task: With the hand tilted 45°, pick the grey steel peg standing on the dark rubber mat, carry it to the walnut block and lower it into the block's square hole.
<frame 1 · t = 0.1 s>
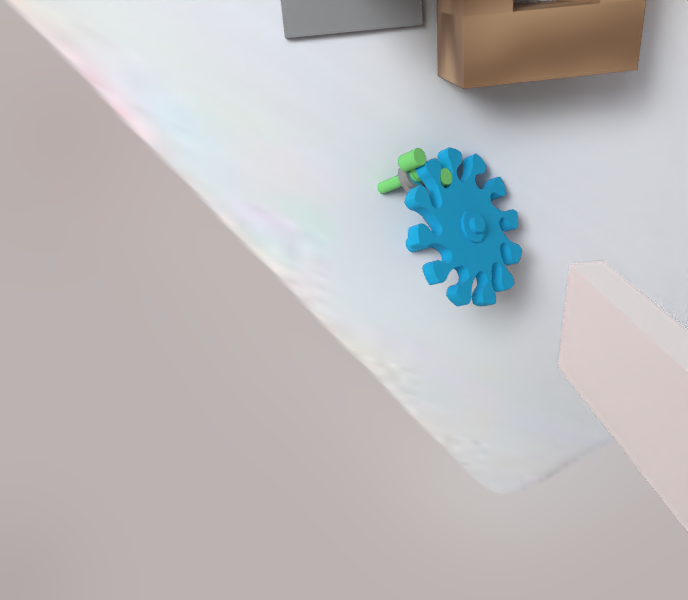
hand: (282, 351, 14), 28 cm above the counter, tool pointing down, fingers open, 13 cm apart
gear: (442, 202, 44), on the counter
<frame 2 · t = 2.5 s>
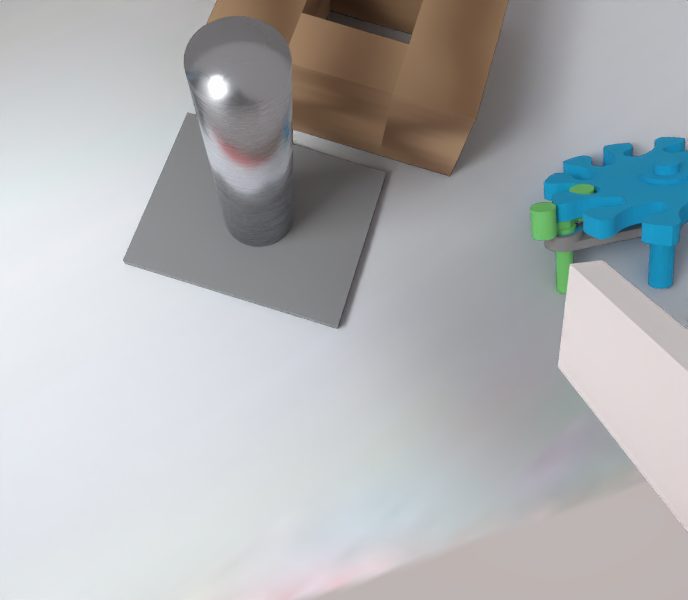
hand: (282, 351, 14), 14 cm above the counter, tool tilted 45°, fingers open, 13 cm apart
peg: (259, 214, 30), resting on mat
gear: (612, 226, 32), on the counter
mat: (259, 218, 30), on the counter
hole block: (360, 59, 33), on the counter
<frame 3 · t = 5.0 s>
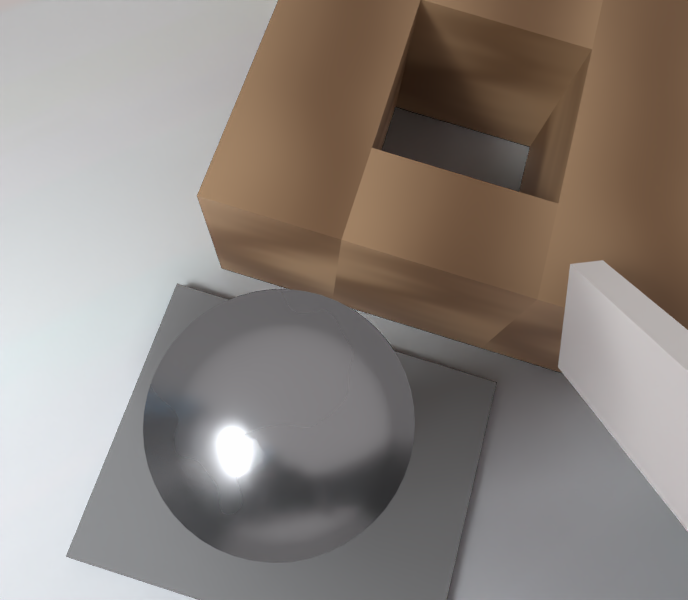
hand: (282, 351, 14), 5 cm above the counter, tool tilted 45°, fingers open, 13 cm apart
peg: (293, 464, 18), resting on mat
mat: (294, 465, 19), on the counter
hole block: (445, 186, 22), on the counter
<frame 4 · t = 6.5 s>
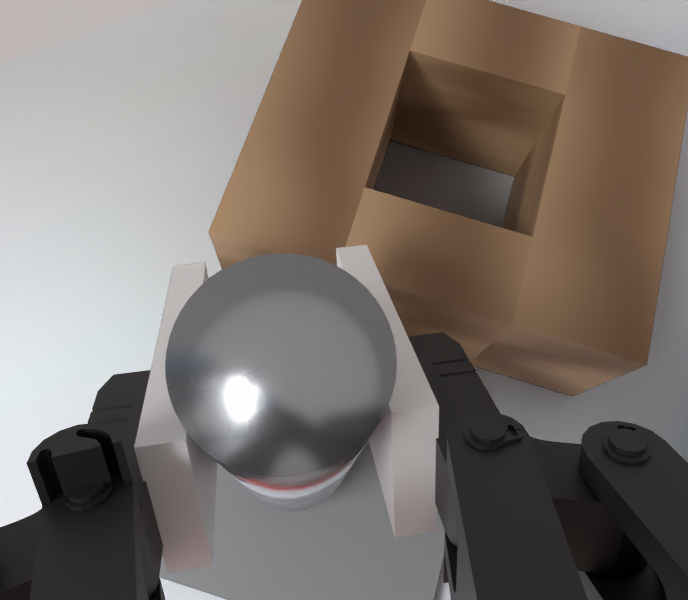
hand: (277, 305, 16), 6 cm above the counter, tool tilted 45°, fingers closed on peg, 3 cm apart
peg: (294, 455, 19), point 1 cm above the counter, touching gripper
mat: (296, 472, 20), on the counter
hole block: (436, 214, 23), on the counter
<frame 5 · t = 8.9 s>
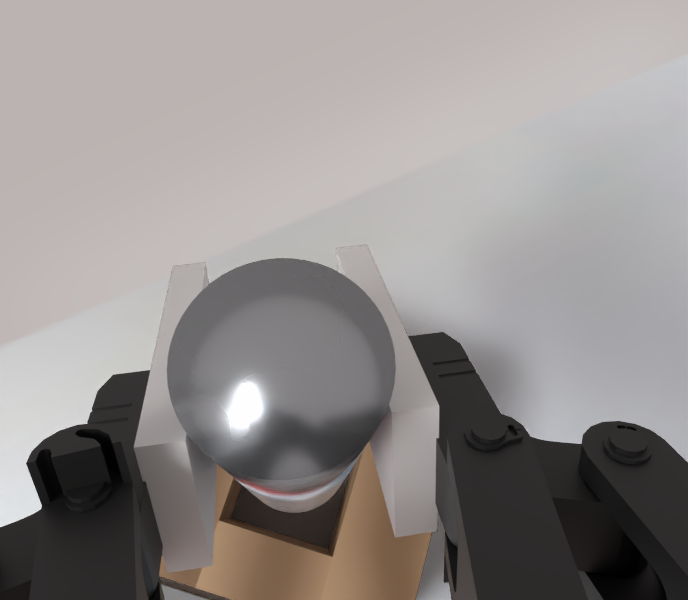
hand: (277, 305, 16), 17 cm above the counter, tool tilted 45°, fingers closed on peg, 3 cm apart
peg: (295, 456, 19), point 13 cm above the counter, touching gripper
hole block: (295, 483, 32), on the counter
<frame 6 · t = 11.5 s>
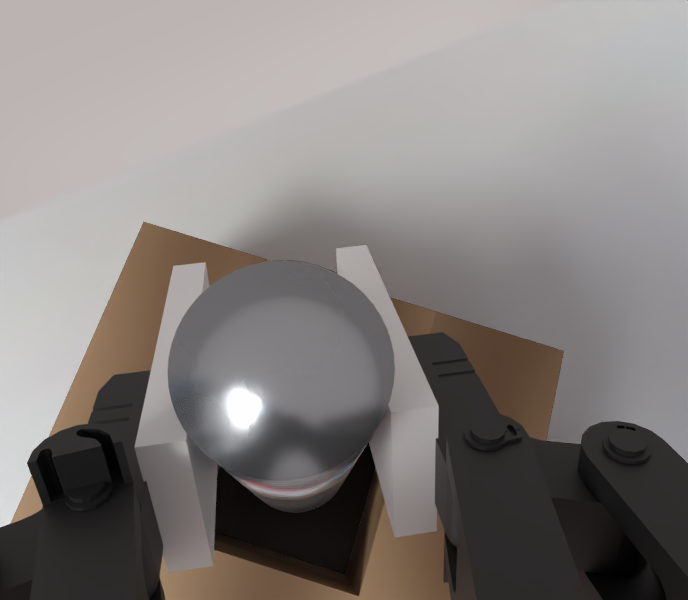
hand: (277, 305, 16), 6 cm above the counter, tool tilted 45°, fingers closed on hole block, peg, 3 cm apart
peg: (296, 456, 19), point 2 cm above the counter, touching gripper
hole block: (295, 474, 21), on the counter
when the fingers open (6 cm above the counter, at t = 11.5 s): peg drops 2 cm, resting in hole block.
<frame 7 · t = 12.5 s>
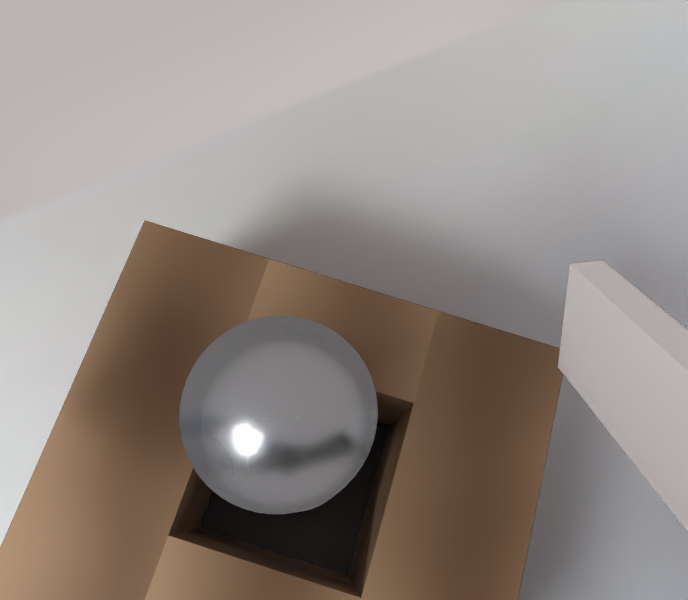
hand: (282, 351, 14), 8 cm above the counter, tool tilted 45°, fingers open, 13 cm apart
peg: (298, 459, 21), resting in hole block
hole block: (297, 475, 21), on the counter
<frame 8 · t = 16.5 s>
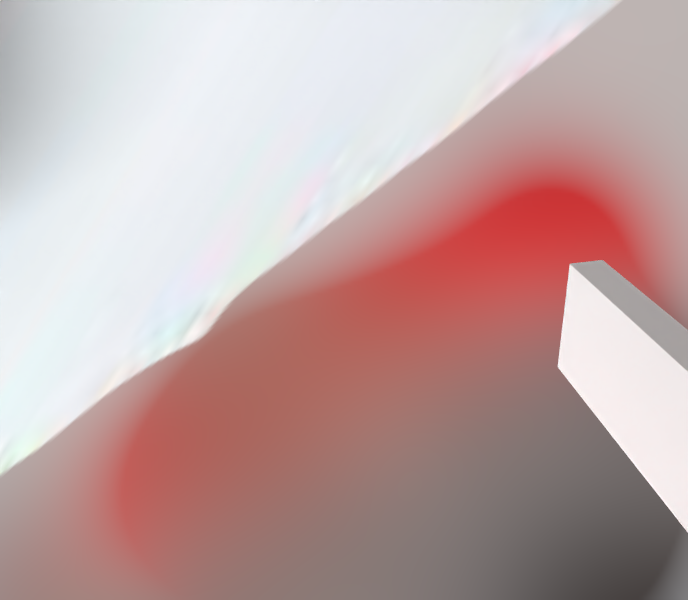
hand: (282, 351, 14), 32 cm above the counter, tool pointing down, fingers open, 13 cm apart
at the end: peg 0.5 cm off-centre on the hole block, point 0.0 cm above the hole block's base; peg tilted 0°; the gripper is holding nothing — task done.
